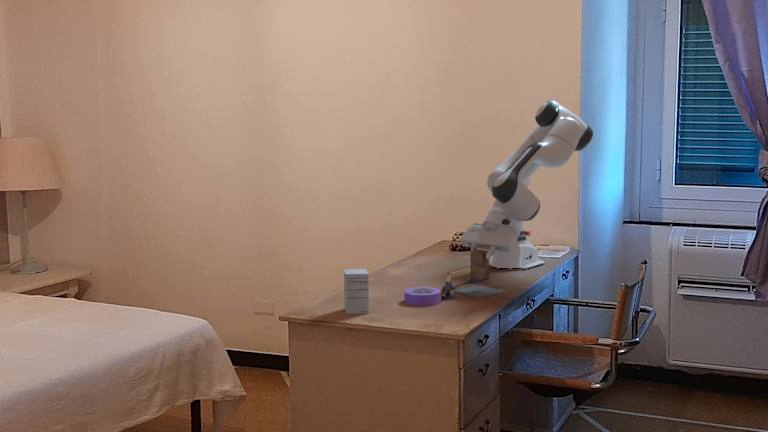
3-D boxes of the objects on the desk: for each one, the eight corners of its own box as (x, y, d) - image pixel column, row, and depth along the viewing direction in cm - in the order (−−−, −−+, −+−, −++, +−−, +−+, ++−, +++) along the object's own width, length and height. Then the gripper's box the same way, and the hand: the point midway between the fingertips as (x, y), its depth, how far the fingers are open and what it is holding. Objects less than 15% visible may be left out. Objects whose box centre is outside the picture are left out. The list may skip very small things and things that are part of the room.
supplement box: (344, 308, 284) (343, 269, 282) (367, 308, 284) (367, 268, 283) (345, 314, 276) (344, 273, 275) (369, 313, 277) (368, 273, 275)
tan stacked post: (478, 278, 307) (478, 249, 306) (489, 280, 304) (489, 250, 303) (470, 280, 304) (470, 251, 303) (481, 282, 301) (481, 252, 300)
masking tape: (429, 308, 285) (429, 296, 284) (397, 303, 291) (397, 292, 290) (447, 300, 294) (447, 289, 294) (415, 296, 301) (415, 285, 300)
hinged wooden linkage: (458, 279, 327) (458, 264, 326) (478, 280, 324) (478, 265, 323) (429, 297, 298) (429, 281, 297) (451, 299, 295) (451, 283, 294)
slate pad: (478, 287, 313) (478, 285, 313) (504, 292, 304) (504, 291, 304) (453, 292, 306) (453, 290, 305) (479, 298, 296) (479, 296, 296)
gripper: (467, 217, 314) (450, 248, 308) (517, 222, 300) (499, 255, 294) (475, 228, 317) (458, 259, 312) (524, 233, 304) (507, 266, 298)
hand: (478, 257), depth 303 cm, fingers closed on tan stacked post, 4 cm apart
